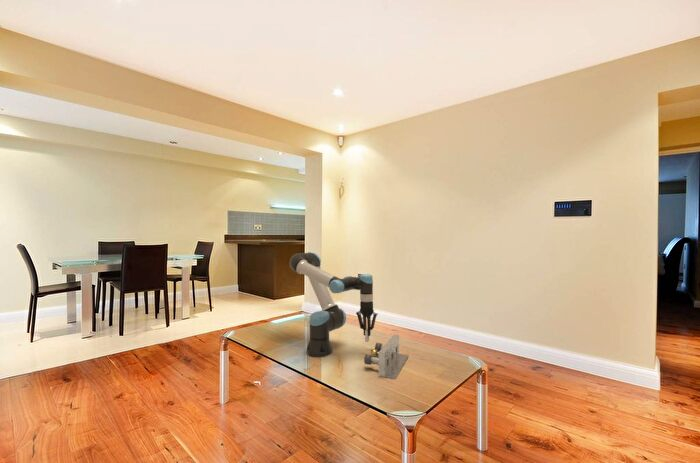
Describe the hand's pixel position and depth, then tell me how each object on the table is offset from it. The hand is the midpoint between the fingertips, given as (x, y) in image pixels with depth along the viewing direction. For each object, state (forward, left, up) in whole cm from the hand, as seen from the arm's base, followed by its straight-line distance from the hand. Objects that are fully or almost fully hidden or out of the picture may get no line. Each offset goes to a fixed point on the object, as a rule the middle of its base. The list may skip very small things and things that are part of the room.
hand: (367, 341), depth 185 cm
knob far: (+11, 0, -5) cm, 12 cm away
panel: (+19, -9, -8) cm, 22 cm away
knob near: (+11, -18, -5) cm, 22 cm away
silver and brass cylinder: (+11, -9, -5) cm, 15 cm away
